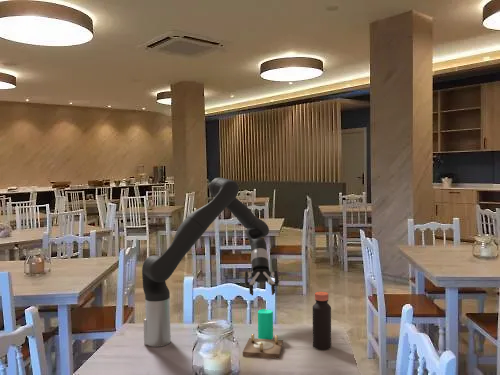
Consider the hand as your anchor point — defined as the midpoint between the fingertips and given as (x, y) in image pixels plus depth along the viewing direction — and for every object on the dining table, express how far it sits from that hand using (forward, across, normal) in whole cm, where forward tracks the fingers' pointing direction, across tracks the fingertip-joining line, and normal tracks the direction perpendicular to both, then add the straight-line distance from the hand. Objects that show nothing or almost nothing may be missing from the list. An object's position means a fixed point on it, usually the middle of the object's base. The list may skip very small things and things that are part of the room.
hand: (262, 294), depth 186 cm
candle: (+17, 0, +3) cm, 18 cm away
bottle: (+25, +20, -5) cm, 33 cm away
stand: (+26, -2, -5) cm, 26 cm away
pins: (+25, -2, -7) cm, 27 cm away
